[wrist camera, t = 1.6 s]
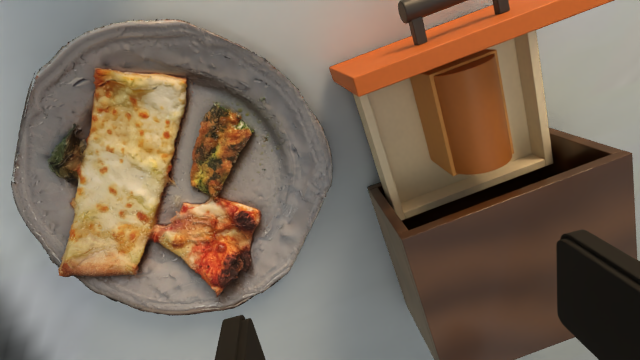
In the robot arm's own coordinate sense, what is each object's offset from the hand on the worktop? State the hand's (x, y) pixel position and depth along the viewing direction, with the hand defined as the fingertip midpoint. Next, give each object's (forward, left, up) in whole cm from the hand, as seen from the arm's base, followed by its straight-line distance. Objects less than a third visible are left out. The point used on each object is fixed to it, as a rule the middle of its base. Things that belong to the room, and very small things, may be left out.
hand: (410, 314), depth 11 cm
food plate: (+6, -11, -24) cm, 27 cm away
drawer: (-6, +9, -23) cm, 25 cm away
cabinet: (+5, +16, -23) cm, 29 cm away
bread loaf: (-5, +10, -22) cm, 24 cm away
